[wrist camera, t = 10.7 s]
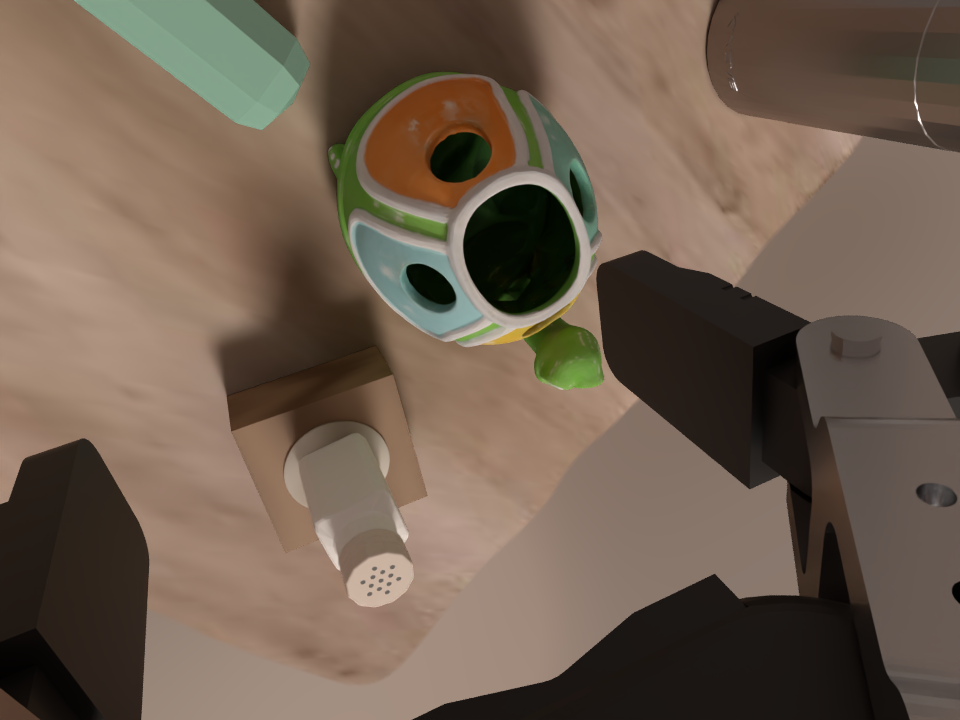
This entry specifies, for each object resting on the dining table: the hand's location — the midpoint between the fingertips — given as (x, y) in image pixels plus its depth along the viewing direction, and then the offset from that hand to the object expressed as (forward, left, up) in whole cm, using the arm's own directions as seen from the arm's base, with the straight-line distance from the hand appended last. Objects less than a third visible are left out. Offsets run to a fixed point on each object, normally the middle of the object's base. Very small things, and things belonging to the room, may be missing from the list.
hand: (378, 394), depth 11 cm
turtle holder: (-10, +7, -28) cm, 31 cm away
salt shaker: (+1, +18, -24) cm, 30 cm away
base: (+1, +18, -28) cm, 33 cm away
